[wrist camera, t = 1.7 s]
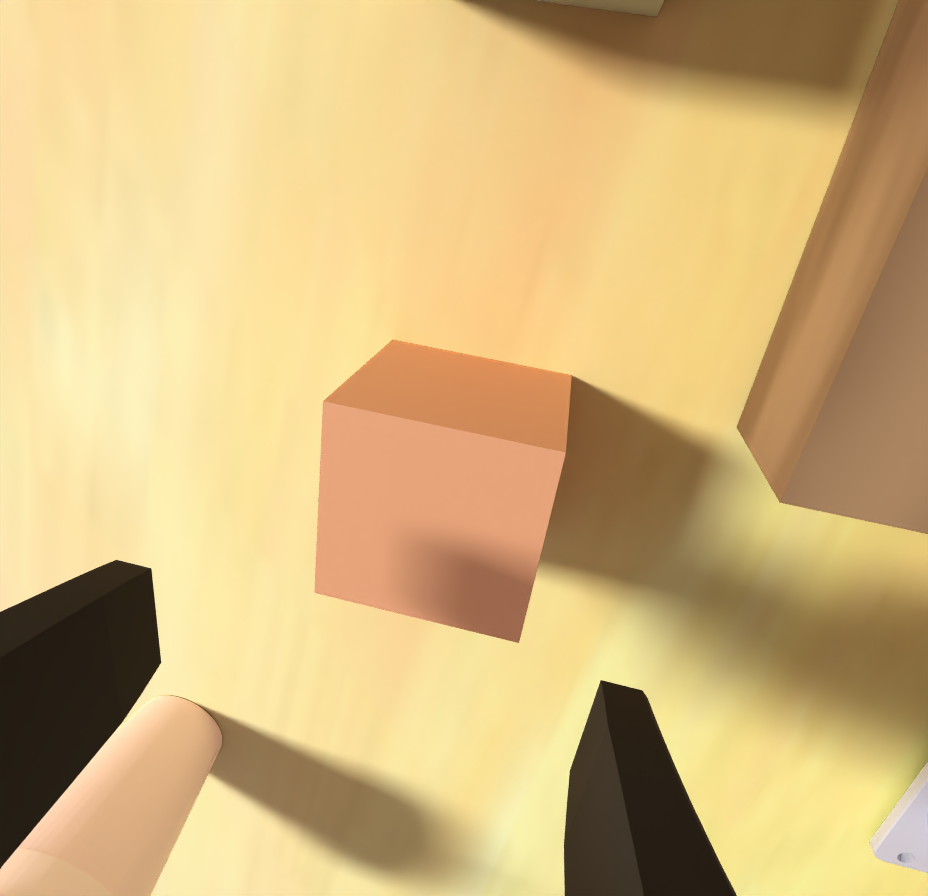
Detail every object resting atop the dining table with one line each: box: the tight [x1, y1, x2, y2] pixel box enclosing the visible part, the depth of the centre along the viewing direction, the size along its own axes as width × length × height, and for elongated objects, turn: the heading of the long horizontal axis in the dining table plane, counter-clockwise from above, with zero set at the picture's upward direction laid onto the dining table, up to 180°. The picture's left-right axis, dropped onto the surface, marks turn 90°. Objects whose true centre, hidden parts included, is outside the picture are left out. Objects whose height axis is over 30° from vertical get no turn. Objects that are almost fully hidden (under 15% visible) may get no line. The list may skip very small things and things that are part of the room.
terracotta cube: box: [315, 340, 572, 643], centre depth 15 cm, size 5×5×5 cm
